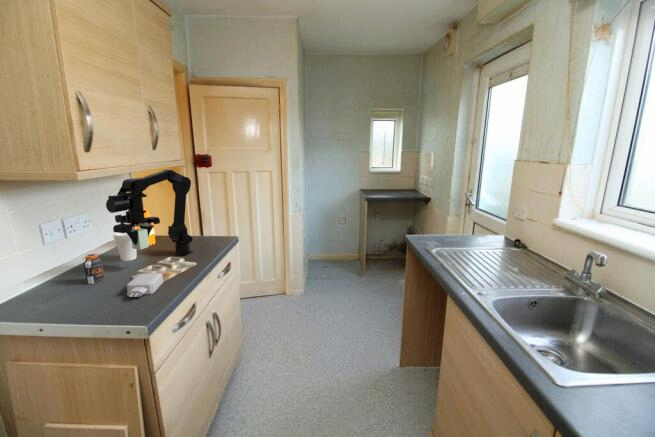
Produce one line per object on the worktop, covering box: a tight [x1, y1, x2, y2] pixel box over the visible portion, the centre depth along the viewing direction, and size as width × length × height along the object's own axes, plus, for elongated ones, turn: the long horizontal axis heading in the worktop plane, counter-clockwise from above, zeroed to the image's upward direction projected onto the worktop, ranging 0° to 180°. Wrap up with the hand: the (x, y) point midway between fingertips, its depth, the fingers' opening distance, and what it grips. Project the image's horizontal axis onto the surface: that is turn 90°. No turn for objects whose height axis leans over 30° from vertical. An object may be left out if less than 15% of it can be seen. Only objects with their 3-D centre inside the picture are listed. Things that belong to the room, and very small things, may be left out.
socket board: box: [131, 256, 197, 283], centre depth 135 cm, size 21×15×3 cm
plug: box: [131, 229, 150, 250], centre depth 134 cm, size 4×4×8 cm
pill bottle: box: [82, 253, 105, 285], centre depth 123 cm, size 6×6×11 cm
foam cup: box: [112, 232, 138, 262], centre depth 148 cm, size 10×9×13 cm
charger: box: [126, 273, 164, 298], centre depth 115 cm, size 5×9×15 cm
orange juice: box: [128, 208, 156, 246], centre depth 168 cm, size 8×9×20 cm
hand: (140, 243), depth 134 cm, fingers closed on plug, 4 cm apart
